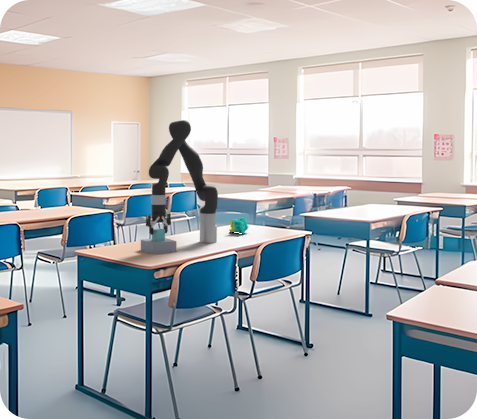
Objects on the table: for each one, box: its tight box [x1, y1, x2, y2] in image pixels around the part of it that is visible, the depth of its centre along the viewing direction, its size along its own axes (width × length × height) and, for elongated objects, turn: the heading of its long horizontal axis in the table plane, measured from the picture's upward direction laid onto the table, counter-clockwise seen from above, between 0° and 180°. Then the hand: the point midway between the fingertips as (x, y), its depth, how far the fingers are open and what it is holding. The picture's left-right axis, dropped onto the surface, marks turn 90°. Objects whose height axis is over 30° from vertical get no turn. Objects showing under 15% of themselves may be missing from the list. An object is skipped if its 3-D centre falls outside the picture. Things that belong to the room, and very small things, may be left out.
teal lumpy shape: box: [228, 216, 249, 234], centre depth 356 cm, size 15×12×13 cm
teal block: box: [151, 227, 166, 241], centre depth 285 cm, size 5×5×6 cm
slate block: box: [140, 237, 177, 255], centre depth 285 cm, size 14×14×6 cm
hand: (158, 233), depth 284 cm, fingers open, 8 cm apart
